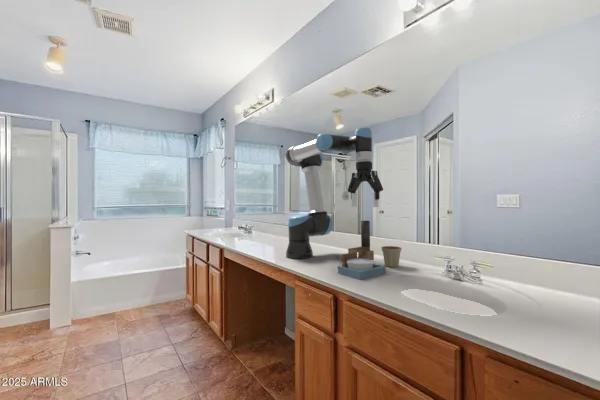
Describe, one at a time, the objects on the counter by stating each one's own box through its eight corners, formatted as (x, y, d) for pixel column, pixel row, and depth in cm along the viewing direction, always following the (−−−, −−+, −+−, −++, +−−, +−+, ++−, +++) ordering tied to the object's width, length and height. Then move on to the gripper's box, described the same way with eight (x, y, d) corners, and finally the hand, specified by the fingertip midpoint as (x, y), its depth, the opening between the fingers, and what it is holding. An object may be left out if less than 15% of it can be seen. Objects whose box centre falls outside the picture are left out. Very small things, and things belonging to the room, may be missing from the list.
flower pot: (390, 262, 144) (390, 245, 144) (406, 266, 136) (406, 247, 136) (377, 265, 139) (376, 247, 139) (392, 269, 131) (392, 250, 131)
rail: (336, 260, 152) (336, 254, 152) (340, 259, 154) (340, 253, 154) (363, 266, 137) (363, 260, 136) (368, 265, 138) (367, 259, 138)
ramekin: (378, 272, 126) (378, 260, 126) (363, 277, 118) (362, 264, 118) (358, 268, 134) (357, 257, 134) (342, 273, 127) (341, 260, 127)
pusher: (338, 268, 132) (337, 222, 131) (364, 263, 141) (363, 220, 141) (347, 271, 127) (346, 223, 126) (373, 265, 136) (373, 220, 136)
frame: (338, 273, 126) (337, 266, 126) (363, 267, 135) (363, 261, 135) (359, 279, 116) (359, 272, 116) (385, 273, 124) (385, 266, 124)
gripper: (340, 163, 145) (340, 206, 145) (379, 157, 124) (380, 207, 125) (351, 164, 149) (351, 206, 150) (390, 158, 129) (391, 206, 129)
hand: (364, 206), depth 137 cm, fingers open, 13 cm apart
